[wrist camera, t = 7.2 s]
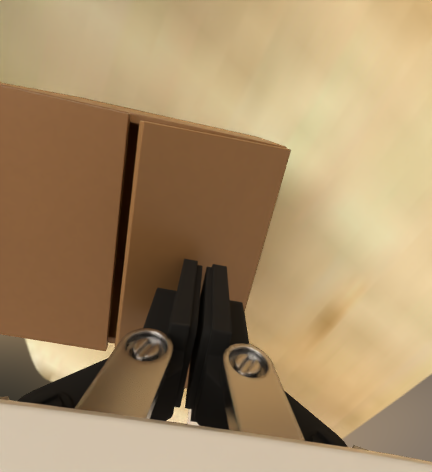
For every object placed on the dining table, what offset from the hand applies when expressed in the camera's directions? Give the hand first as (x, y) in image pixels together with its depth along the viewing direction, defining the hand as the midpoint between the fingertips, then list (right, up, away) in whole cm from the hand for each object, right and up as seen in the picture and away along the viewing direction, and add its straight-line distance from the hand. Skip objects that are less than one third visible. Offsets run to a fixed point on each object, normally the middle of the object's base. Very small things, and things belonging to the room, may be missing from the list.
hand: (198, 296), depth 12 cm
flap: (0, 0, +1) cm, 1 cm away
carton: (-4, +5, +11) cm, 13 cm away
